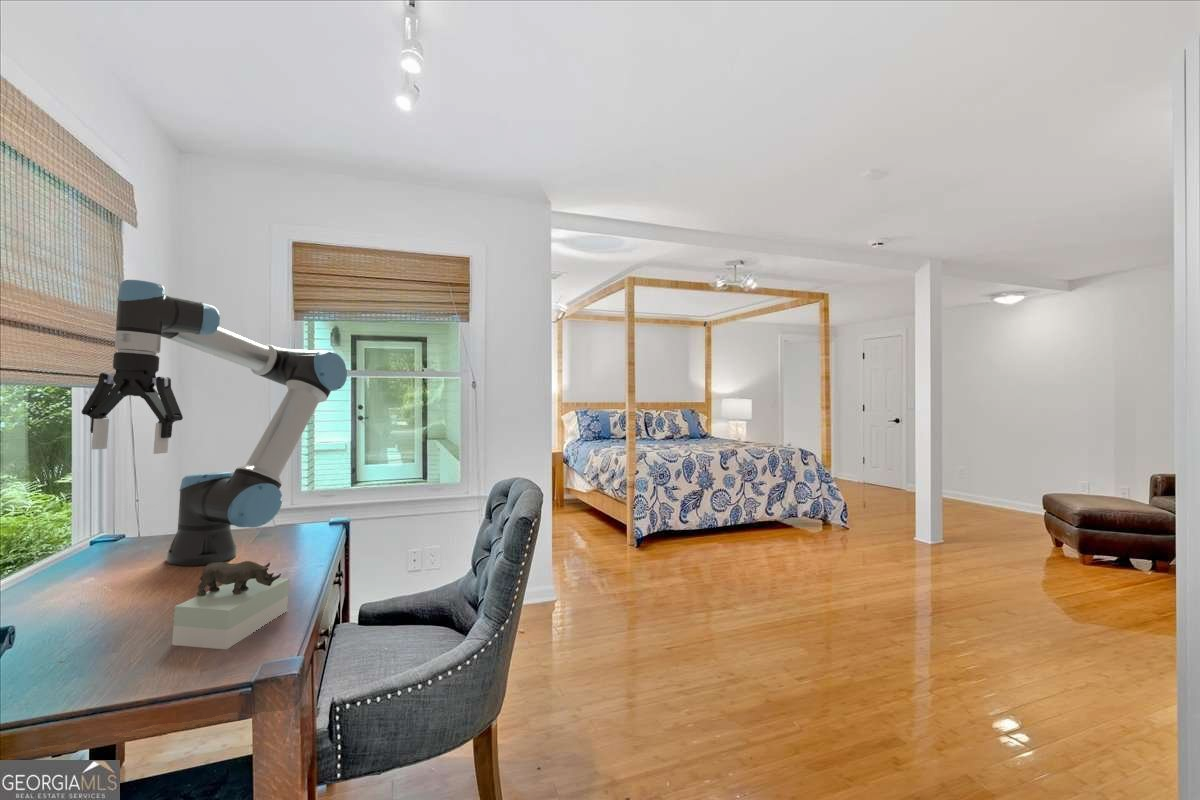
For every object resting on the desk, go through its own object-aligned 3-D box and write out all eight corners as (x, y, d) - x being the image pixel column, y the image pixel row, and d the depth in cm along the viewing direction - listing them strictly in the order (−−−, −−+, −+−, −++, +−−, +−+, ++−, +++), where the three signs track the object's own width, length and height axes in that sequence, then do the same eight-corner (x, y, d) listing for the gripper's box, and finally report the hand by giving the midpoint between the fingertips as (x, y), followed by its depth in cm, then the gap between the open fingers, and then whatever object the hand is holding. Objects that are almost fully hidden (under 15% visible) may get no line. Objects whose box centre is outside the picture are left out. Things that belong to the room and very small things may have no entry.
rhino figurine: (277, 593, 107) (279, 562, 107) (194, 597, 102) (196, 565, 102) (281, 586, 111) (283, 556, 111) (201, 590, 106) (203, 559, 106)
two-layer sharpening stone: (241, 608, 115) (243, 575, 115) (287, 611, 115) (289, 578, 115) (172, 645, 97) (175, 606, 97) (226, 649, 97) (229, 610, 97)
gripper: (63, 347, 113) (55, 448, 113) (179, 354, 113) (171, 456, 112) (98, 351, 121) (90, 445, 121) (206, 358, 120) (199, 453, 120)
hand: (129, 451), depth 117 cm, fingers open, 13 cm apart
